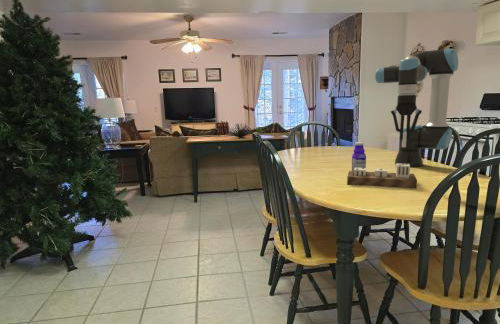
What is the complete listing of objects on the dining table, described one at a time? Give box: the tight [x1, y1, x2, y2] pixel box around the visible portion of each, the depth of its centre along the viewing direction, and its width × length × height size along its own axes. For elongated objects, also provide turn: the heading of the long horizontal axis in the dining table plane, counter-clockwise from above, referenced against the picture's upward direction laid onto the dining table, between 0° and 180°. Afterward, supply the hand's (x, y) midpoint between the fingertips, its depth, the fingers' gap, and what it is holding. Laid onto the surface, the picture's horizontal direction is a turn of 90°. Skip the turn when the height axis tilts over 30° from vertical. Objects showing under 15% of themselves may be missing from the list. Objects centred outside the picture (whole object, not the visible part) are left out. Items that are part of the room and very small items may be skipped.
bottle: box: [351, 141, 367, 171], centre depth 176 cm, size 7×6×17 cm
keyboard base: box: [346, 170, 418, 190], centre depth 158 cm, size 30×13×4 cm, turn 70°
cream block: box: [374, 167, 388, 177], centre depth 158 cm, size 5×6×6 cm
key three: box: [395, 163, 411, 178], centre depth 154 cm, size 5×6×6 cm
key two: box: [354, 167, 367, 176], centre depth 161 cm, size 5×6×6 cm
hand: (403, 146), depth 152 cm, fingers closed
